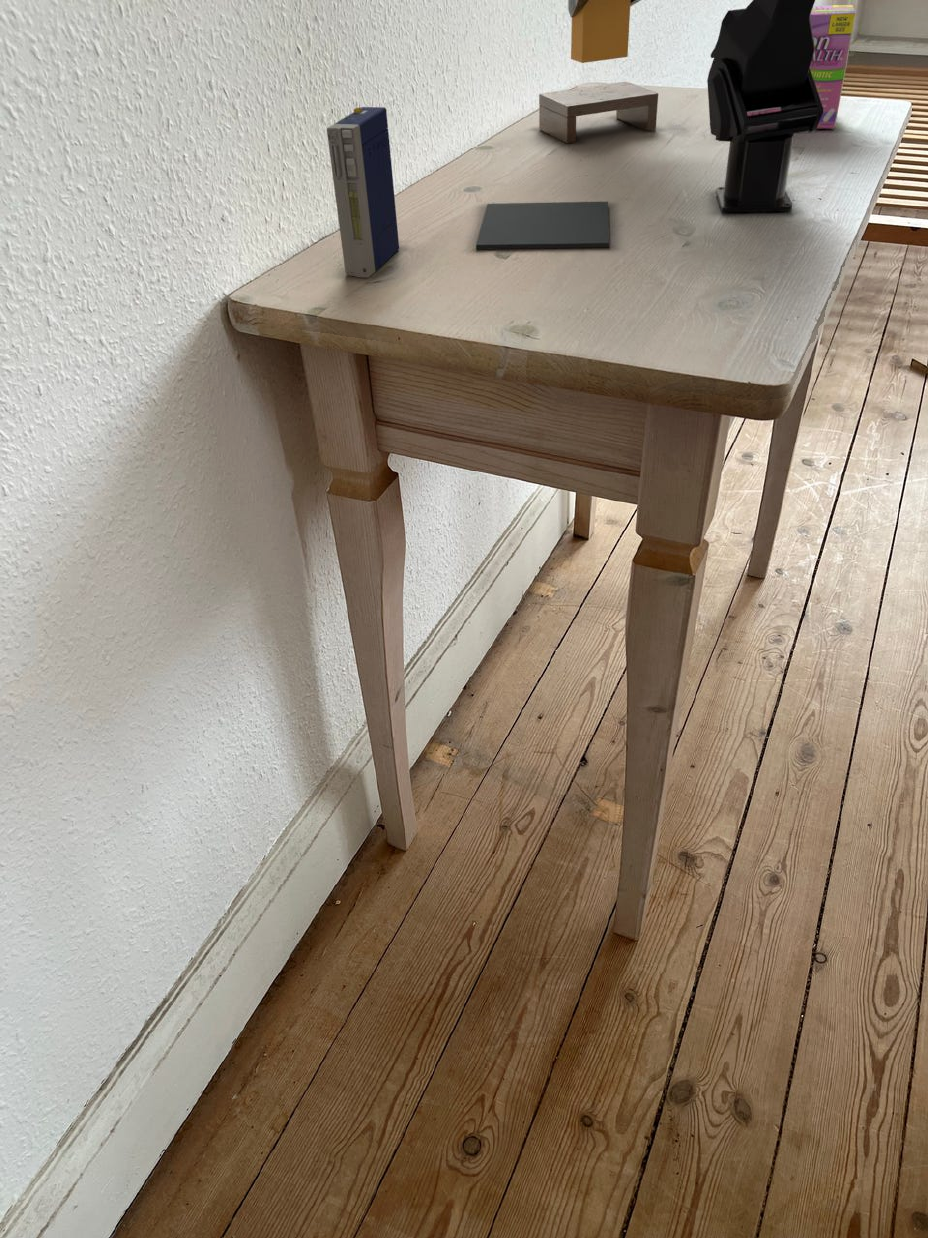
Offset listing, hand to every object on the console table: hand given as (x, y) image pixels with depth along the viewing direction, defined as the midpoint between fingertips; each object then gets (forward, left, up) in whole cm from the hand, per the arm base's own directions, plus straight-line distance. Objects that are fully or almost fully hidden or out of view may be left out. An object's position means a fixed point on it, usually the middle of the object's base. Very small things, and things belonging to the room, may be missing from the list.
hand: (595, 10), depth 109 cm
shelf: (-1, -1, -12) cm, 12 cm away
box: (-1, -24, -12) cm, 27 cm away
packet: (-1, -1, -5) cm, 5 cm away
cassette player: (-46, +19, -12) cm, 52 cm away
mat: (-37, +4, -12) cm, 39 cm away
